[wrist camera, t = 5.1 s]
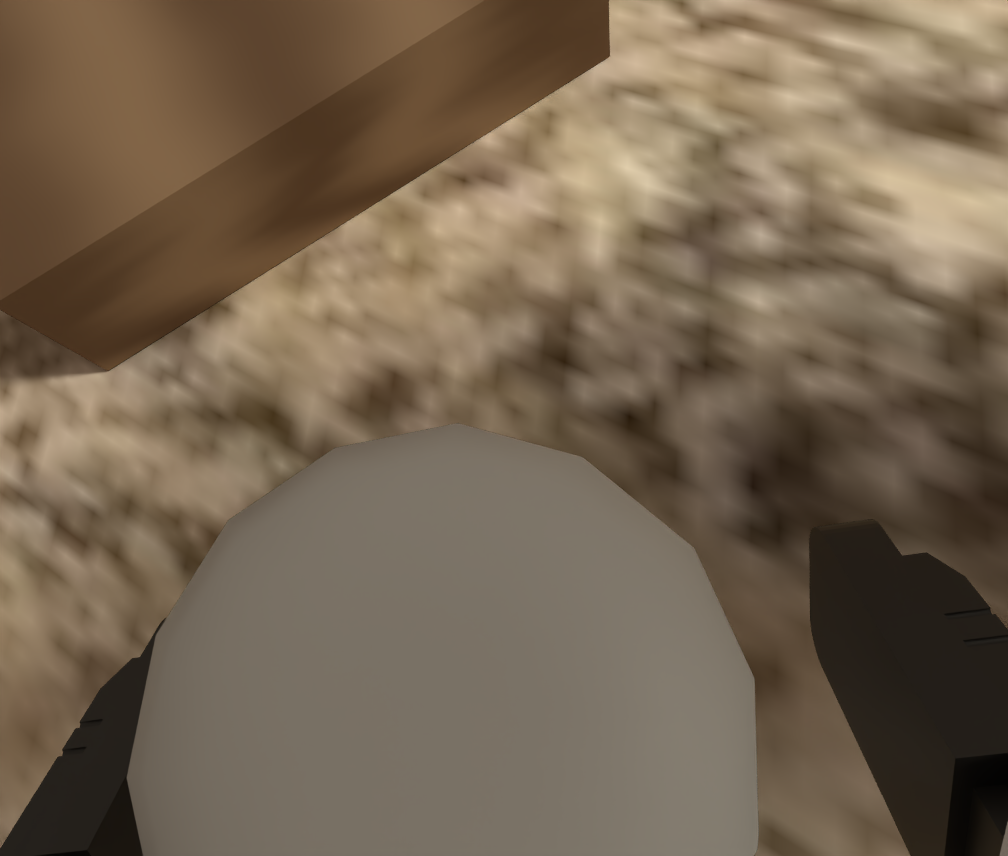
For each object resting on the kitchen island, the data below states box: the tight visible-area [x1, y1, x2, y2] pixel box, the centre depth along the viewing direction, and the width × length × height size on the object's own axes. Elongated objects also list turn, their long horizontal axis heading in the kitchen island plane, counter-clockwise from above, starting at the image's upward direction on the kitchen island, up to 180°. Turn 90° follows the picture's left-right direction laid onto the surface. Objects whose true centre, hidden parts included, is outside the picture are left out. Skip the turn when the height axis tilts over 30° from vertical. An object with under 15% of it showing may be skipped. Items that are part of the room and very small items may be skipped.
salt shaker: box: [127, 423, 759, 856], centre depth 11 cm, size 6×6×13 cm
